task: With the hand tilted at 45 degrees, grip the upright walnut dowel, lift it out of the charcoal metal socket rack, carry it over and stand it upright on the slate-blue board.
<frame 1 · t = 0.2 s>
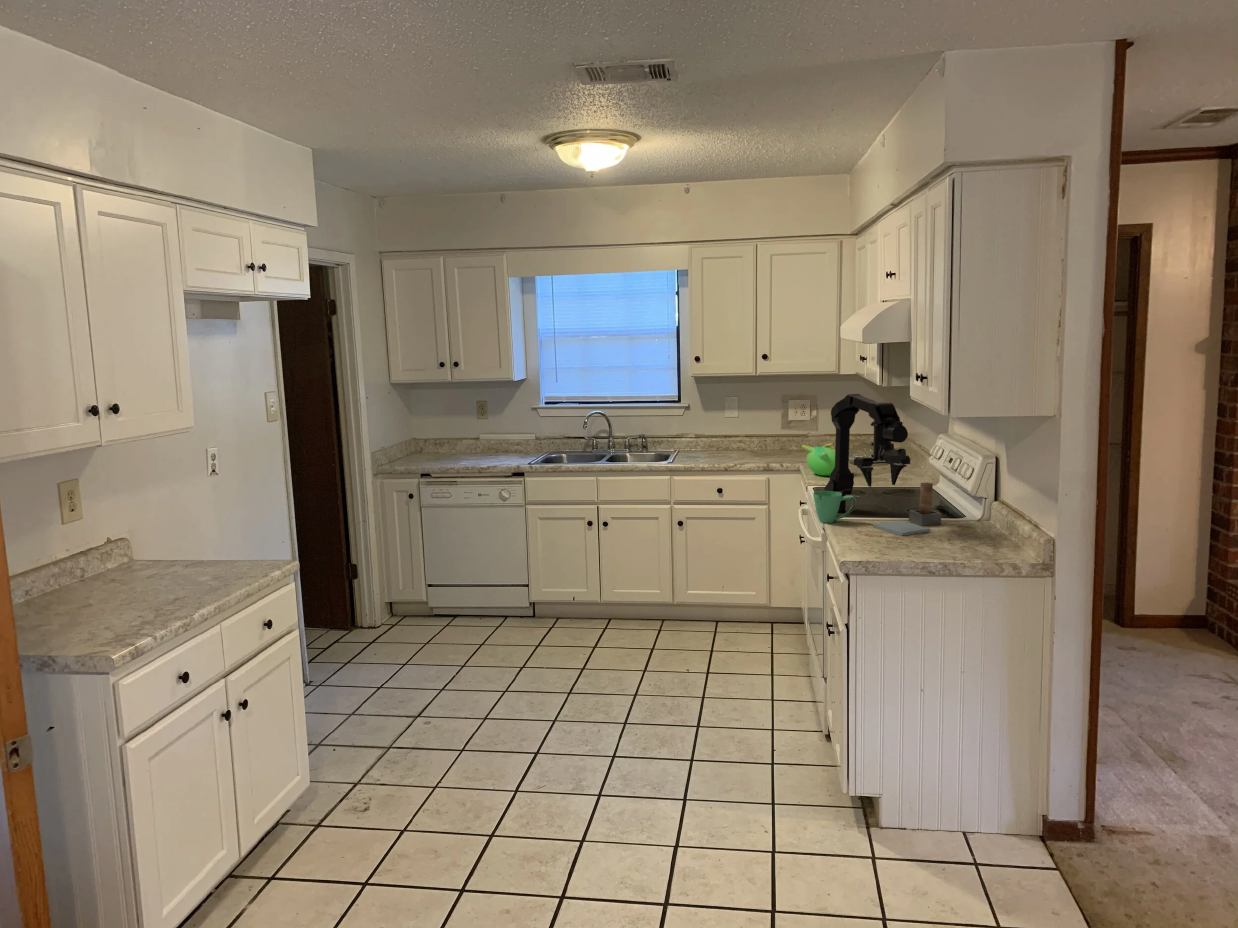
hand: (881, 485, 299), 14 cm above the worktop, tool pointing down, fingers open, 9 cm apart
dowel: (925, 503, 306), in the socket rack
mug: (833, 522, 310), on the worktop
socket rack: (924, 523, 307), on the worktop
toy bird: (824, 475, 402), on the worktop
board: (901, 529, 298), on the worktop
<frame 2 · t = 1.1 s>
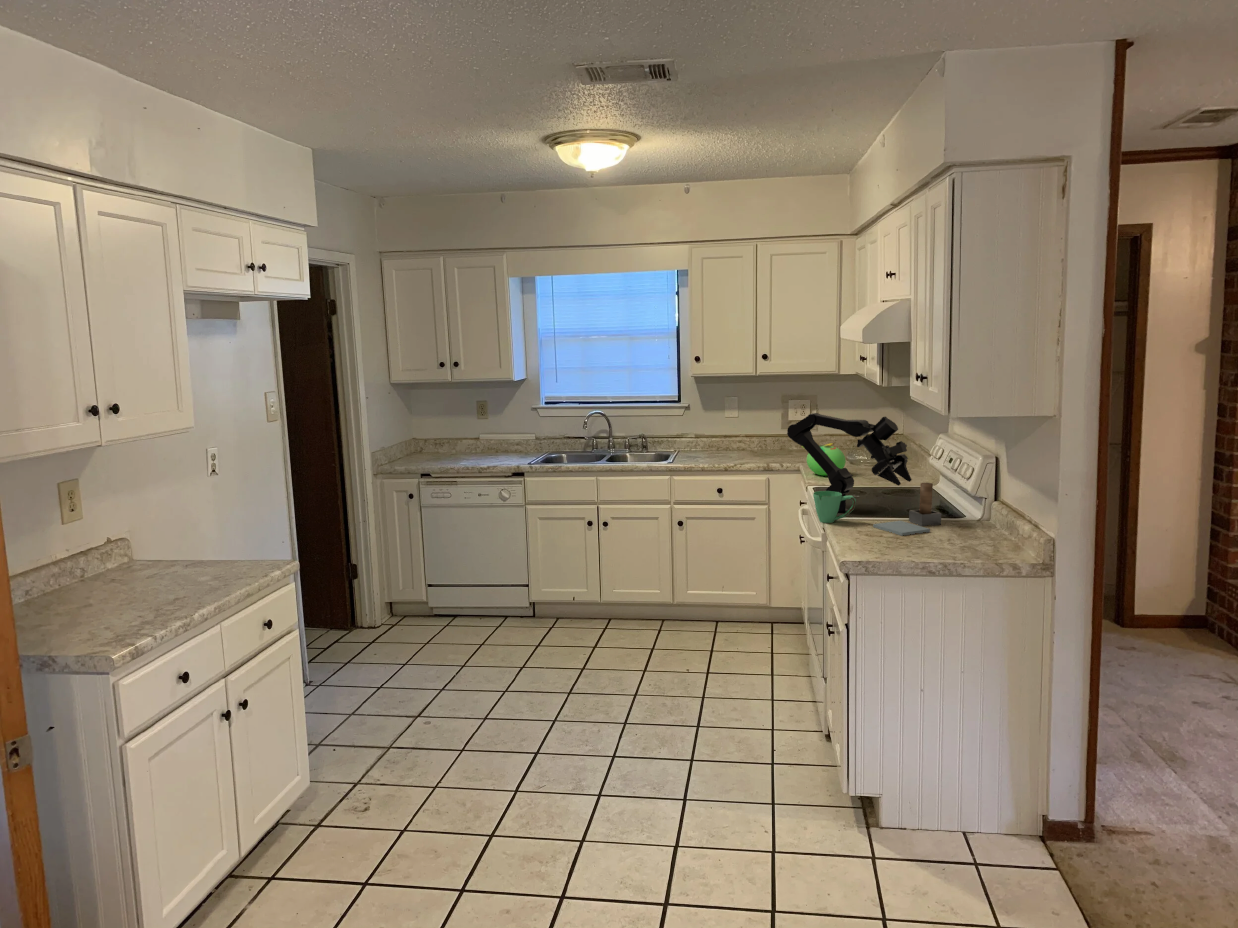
hand: (905, 482, 309), 13 cm above the worktop, tool tilted 45°, fingers open, 9 cm apart
nothing on the worktop moved.
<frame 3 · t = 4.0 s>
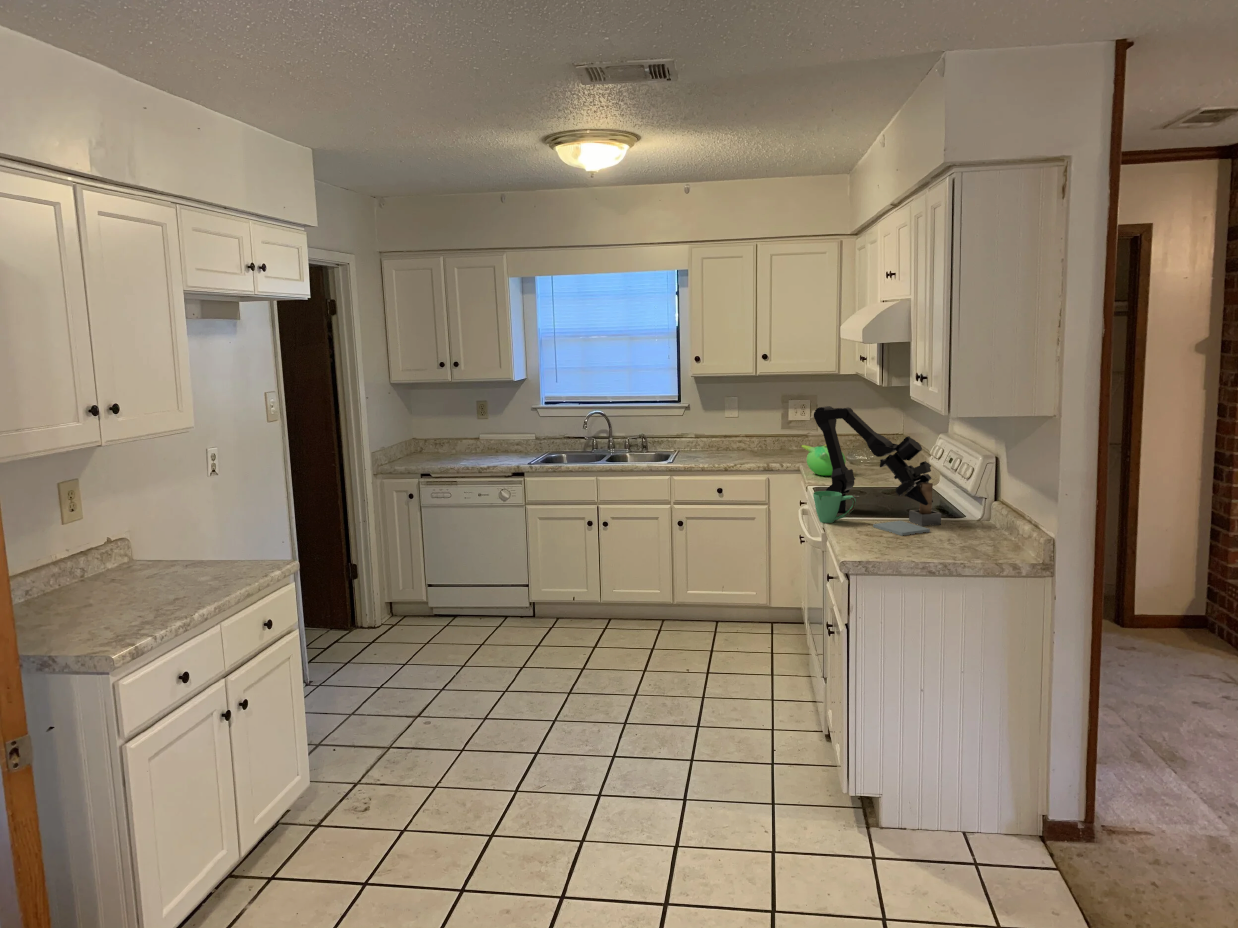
hand: (929, 503, 305), 7 cm above the worktop, tool tilted 45°, fingers closed on dowel, 4 cm apart
dowel: (925, 503, 306), in the socket rack, touching gripper
everything else where it was.
when the fingers open (9 cm above the worktop, at t = 7.5 s): dowel stays where it is, resting on board.
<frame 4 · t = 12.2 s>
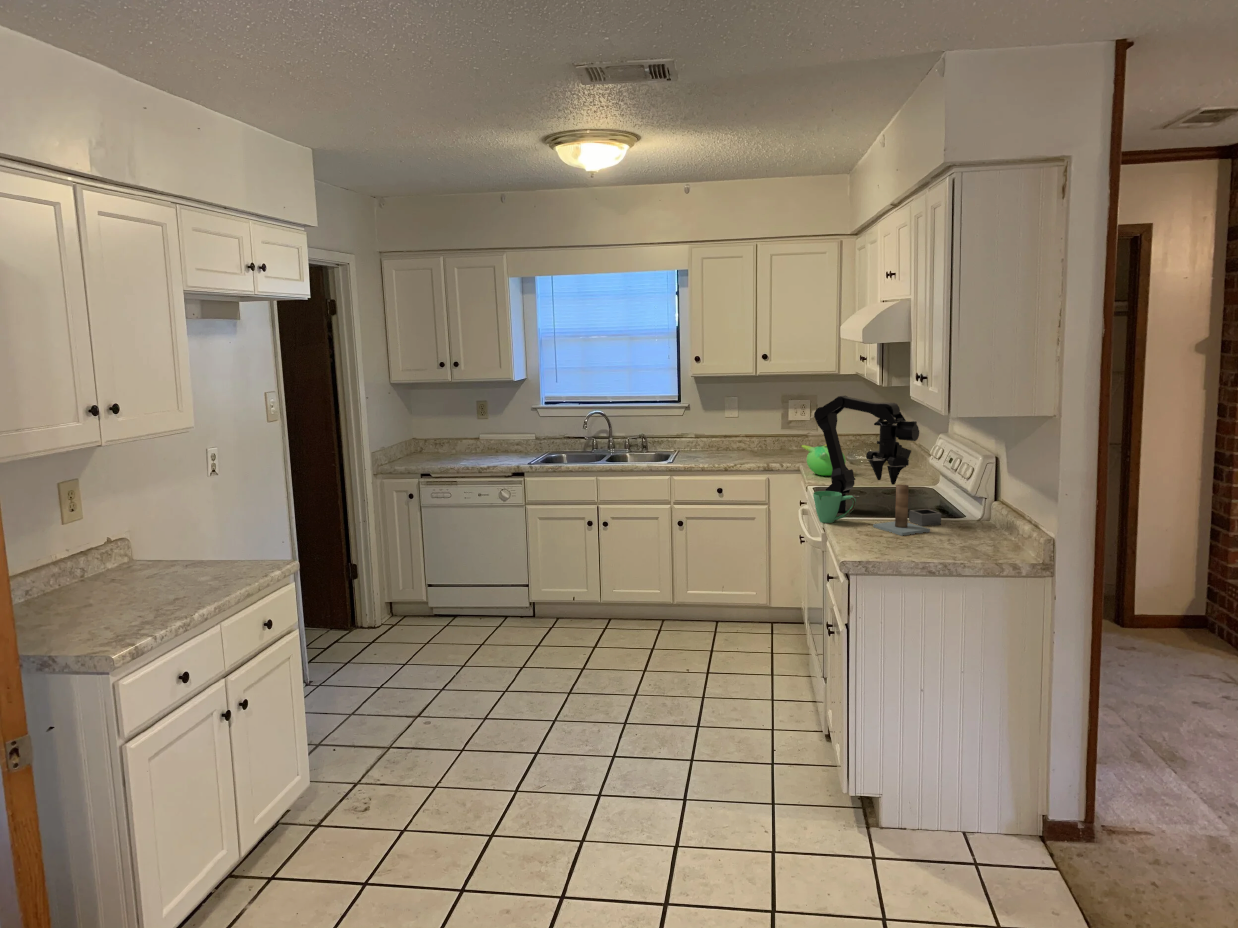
hand: (886, 482, 313), 13 cm above the worktop, tool pointing down, fingers open, 9 cm apart
dowel: (901, 506, 297), on the board, point 8 cm above the worktop
everything else where it was.
at the end: dowel inside the target area on the board (0.1 cm from its centre), point 8.0 cm above the board's base; dowel tilted 1°; the gripper is holding nothing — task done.
